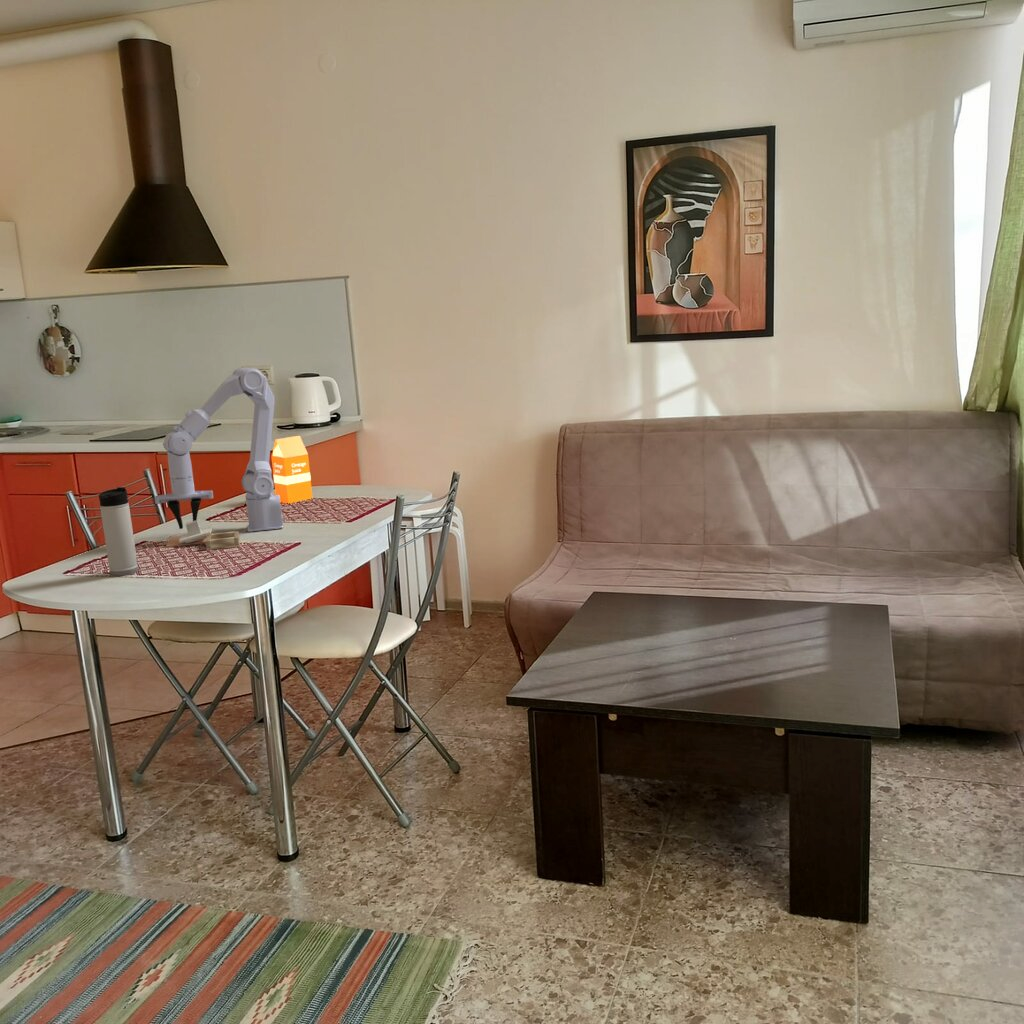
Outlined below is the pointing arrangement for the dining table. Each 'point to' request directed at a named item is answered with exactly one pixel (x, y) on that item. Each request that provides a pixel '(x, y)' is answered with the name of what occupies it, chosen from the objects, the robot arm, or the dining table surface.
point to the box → (222, 540)
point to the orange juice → (291, 470)
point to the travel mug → (118, 532)
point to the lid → (194, 532)
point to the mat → (175, 542)
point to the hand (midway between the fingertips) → (188, 527)
